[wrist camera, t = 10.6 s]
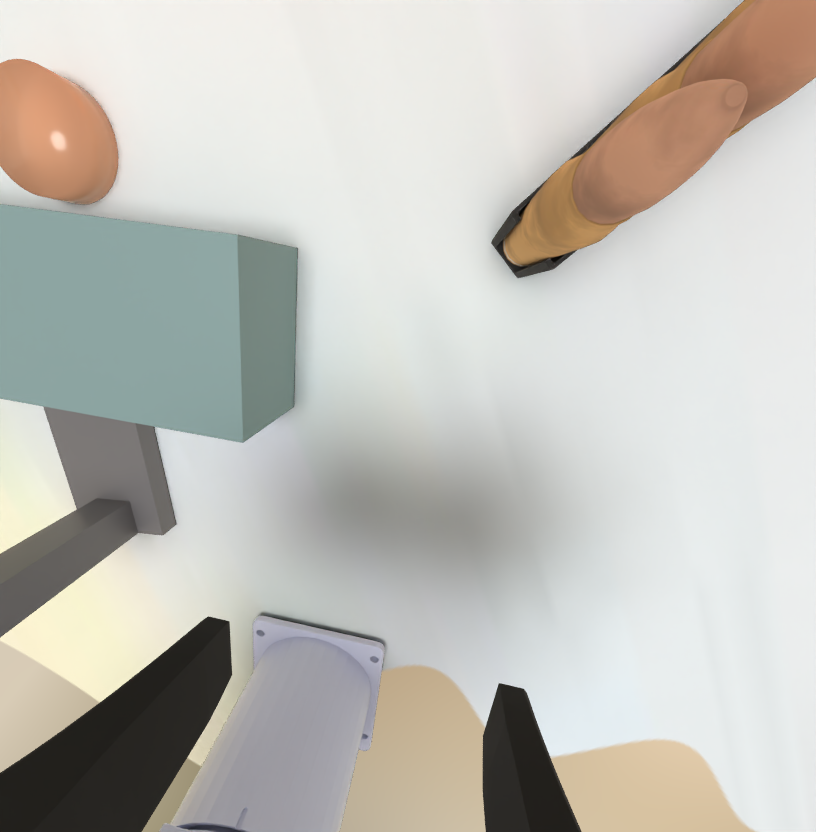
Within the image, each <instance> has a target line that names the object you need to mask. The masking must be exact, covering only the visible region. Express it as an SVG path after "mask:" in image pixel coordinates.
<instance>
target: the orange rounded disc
mask: <svg viewBox="0 0 816 832" xmlns="http://www.w3.org/2000/svg"><path fill="white" fill-rule="evenodd" d="M0 166H1V167H2V169H3V170H4V171H5V172H6V174H7V175H8V176H9V177H10V178H11V179H12V180H13V181H14V182H16V183H17V184H18V185H19V186H21V187H22V188H24V189H25V190H27V191H29V192H31V193H33V194H36V195H38V196H43V197H47V198H52V199H57V200H61V201H66V202H71V203H75V204H90V203H94V202H96V201H98V200H100V199H101V198H103V197H104V196H105V195H106V194H107V193H108V192H109V190H110V189H111V187H112V185H113V183H114V181H115V178H116V174H117V168H118V149H117V143H116V139H115V135H114V132H113V129H112V126H111V124H110V122H109V120H108V118H107V116H106V114H105V112H104V111H103V109H102V108H101V106H100V105H99V104H98V102H97V101H96V100H95V99H94V98H93V97H92V96H91V95H90V94H89V93H88V92H87V91H86V90H84V89H83V88H82V87H80V86H78V85H77V84H75V83H73V82H71V81H69V80H67V79H65V78H63V77H61V76H59V75H58V74H56V73H54V72H52V71H50V70H48V69H46V68H44V67H42V66H40V65H38V64H36V63H34V62H31V61H28V60H23V59H12V60H7V61H5V62H2V63H0Z"/></svg>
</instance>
